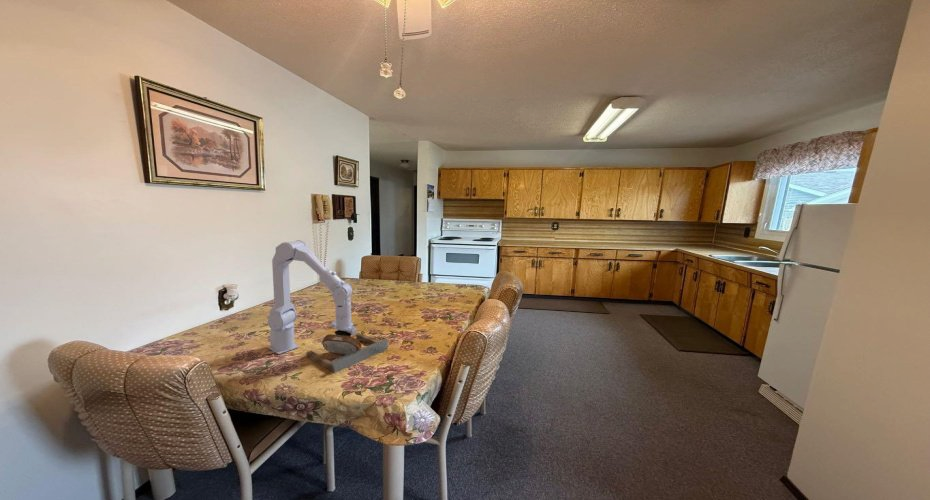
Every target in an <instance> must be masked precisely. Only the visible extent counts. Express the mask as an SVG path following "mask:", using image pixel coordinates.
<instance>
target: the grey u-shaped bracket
mask: <svg viewBox="0 0 930 500" xmlns="http://www.w3.org/2000/svg"><path fill="white" fill-rule="evenodd" d="M355 335H356V337H355V338H356V339H357V340H358V341H361V342H364V343H365V344H368V345H367V346H363V347H361V349H359V350H357V351H354V352H352V353H349V354H347V355H344V354H343V355H342V356H340V357H337V358H334V359H332V360H329V359H327V358H325V357H324V356H323V355H320V354H318V353H316V352H314V351H313V350H308V351H306V357H307V358H309V359H310V360H312V361H313V362H316V363H317V364H318V365H320V366H322V367H324V368H325V369H326V370H327V369H328V370H329V371H330V372H333V373H335V374H336V373H337V372H340V371H342V370H344V369H346V368H349V367H351V366H353V365H356V364H358V363H360V362H362V361H364V360H366V359H369V358H370V357H373V356H376V355H378V354H380V353H383V352H385V351H387V350H388V347H389V346H388V339H386V338H384V339H381V340H378V339H375V338H373V337H370V336H367V335H366V334H362V333H360V332H359V333H358V332H357V334H355Z"/></svg>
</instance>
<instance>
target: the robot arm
mask: <svg viewBox="0 0 930 500" xmlns="http://www.w3.org/2000/svg"><path fill="white" fill-rule="evenodd" d="M293 261H297V262H298V261H299V262H304V264H306V265H307V266H308V267H309V268H310V269H312V270H313V271H314V272H315V273H316V274H317V275H318V276H319V281H320V282H321V283H322V284H323V285H324V286H325V287H326V288H327V289H328V290H329V291H330V292H331V297H332V298H333V300H334V309H335V310H334V311H335V312H334V313H335V320H333V321H331V322H330V323H331V327H332V328H335V331H334V335H343V336H351V337H352V336H354V335H356V334H358V329H357V328H356V327H355V326H354V324H355V323H354V322H352V301H351V299H352V298H351V296H352V294H353V292H354V289H353V286H352V285H351V284H350V283H349V282H346V281H344V280H342V279H341V278H340V277H339V276H338V275H337V273H338V272H336V270H333V269H328V268H326V267H325V266H324V264H323V263H322V262H321V261H320V260H319V259H318V258H317V256H316V255H315V254H314V253H313V252H312V250H311V248H310V246H309V245H307V243H305V242H304V241H303V240H294V241H287V242H286V241H285V242H282V243H280V244H279V245H277V246H276V247H275V253H274V255H273V258H272V261H271V263H272V264H271V265H272V266H271V267H272V281H273V282H272V283H273V301H274V302H273V303H274V304H273V305H272V308H271V309H270V310H269V314H268V315H269V316H268V318H267V325H268V327H269V328H270V330H269V341H270V345H269V346H268V347H267V348H268V349H269V350H271V351H273V352H274V353H275V354H277V355H280V354H284V353H287V352H290V351H293V350H296V349H298V348H299V347H300V346H299V345H298V344H296V343H295V328H294V327H295V326H294V324H295V321H296V320H297V317H298V314H297V311H296V308H295V305H294V304H293V303H292V302H291V286H290V285H291V283H290V264H292V262H293Z"/></svg>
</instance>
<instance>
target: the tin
mask: <svg viewBox="0 0 930 500" xmlns="http://www.w3.org/2000/svg"><path fill="white" fill-rule="evenodd" d="M321 345H322V346H323V348H324V350H326V351H327V352H328V353H331V354H335V355H337V354H338V355H343V356H344V355H347V354H349V353H352V352H354V351H357V350H359V349H361V348H362V343H361V342H360V340H359V339H357V338H356V337H353V336H352V335H351V336H343V335H336V334H331V333H330V334H326V336H325V337H324V338H323V340H322V342H321Z"/></svg>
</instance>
